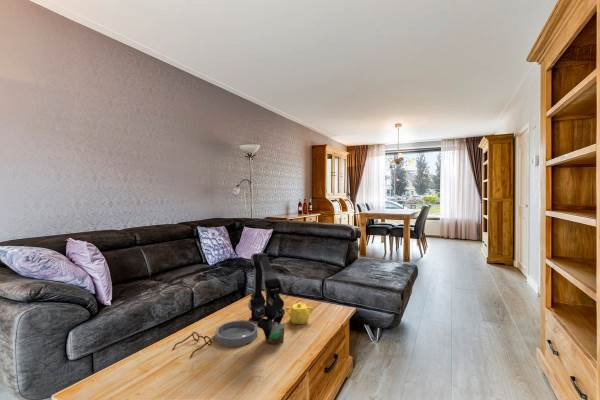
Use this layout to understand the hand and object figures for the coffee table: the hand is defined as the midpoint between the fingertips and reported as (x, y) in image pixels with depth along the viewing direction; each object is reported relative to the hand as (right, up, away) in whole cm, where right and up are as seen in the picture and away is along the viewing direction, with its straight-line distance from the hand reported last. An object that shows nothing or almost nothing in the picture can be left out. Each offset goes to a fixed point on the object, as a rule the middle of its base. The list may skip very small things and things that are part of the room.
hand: (271, 334), depth 144 cm
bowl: (-19, -4, +7) cm, 20 cm away
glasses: (-37, -5, -5) cm, 38 cm away
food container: (0, -4, 0) cm, 4 cm away
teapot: (+13, -4, +24) cm, 28 cm away
